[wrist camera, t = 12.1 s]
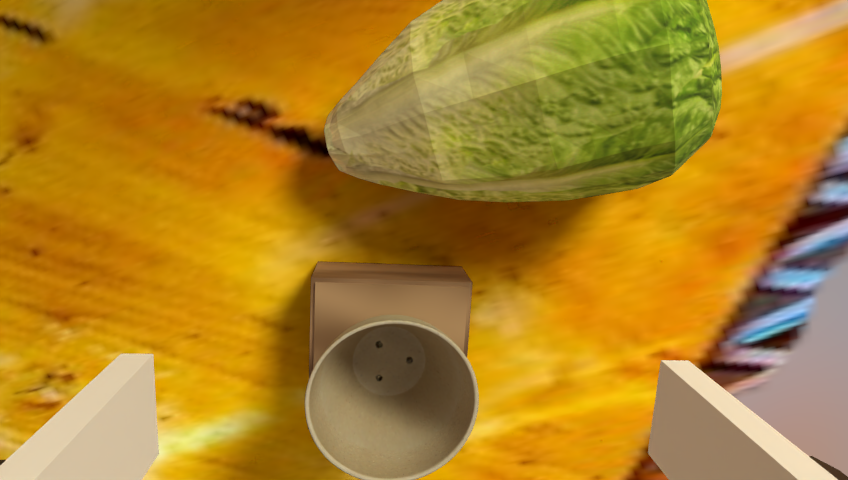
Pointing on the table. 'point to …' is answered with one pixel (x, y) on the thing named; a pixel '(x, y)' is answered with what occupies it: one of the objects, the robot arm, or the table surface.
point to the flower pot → (391, 399)
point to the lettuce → (533, 99)
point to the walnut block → (387, 299)
